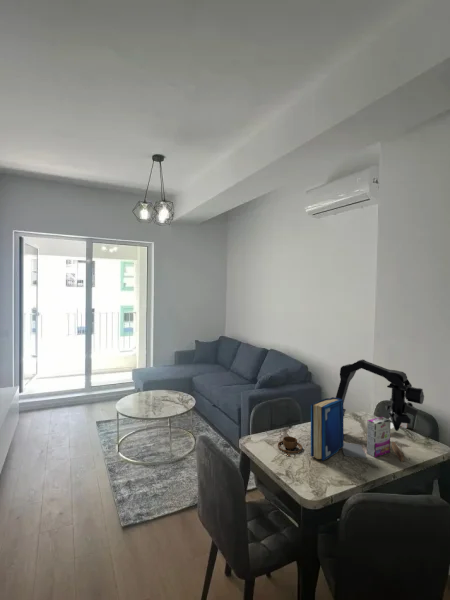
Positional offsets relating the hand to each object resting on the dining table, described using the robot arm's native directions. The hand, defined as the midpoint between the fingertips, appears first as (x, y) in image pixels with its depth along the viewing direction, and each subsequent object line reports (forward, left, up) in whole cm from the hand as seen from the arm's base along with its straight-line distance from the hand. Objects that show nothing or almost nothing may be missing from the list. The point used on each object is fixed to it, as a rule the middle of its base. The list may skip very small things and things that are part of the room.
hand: (396, 430), depth 158 cm
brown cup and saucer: (-46, -7, -13) cm, 48 cm away
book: (-31, -6, -12) cm, 34 cm away
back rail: (+1, +1, -12) cm, 12 cm away
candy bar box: (-8, 0, -12) cm, 15 cm away
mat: (-19, 0, -12) cm, 23 cm away
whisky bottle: (+3, +29, -13) cm, 32 cm away
